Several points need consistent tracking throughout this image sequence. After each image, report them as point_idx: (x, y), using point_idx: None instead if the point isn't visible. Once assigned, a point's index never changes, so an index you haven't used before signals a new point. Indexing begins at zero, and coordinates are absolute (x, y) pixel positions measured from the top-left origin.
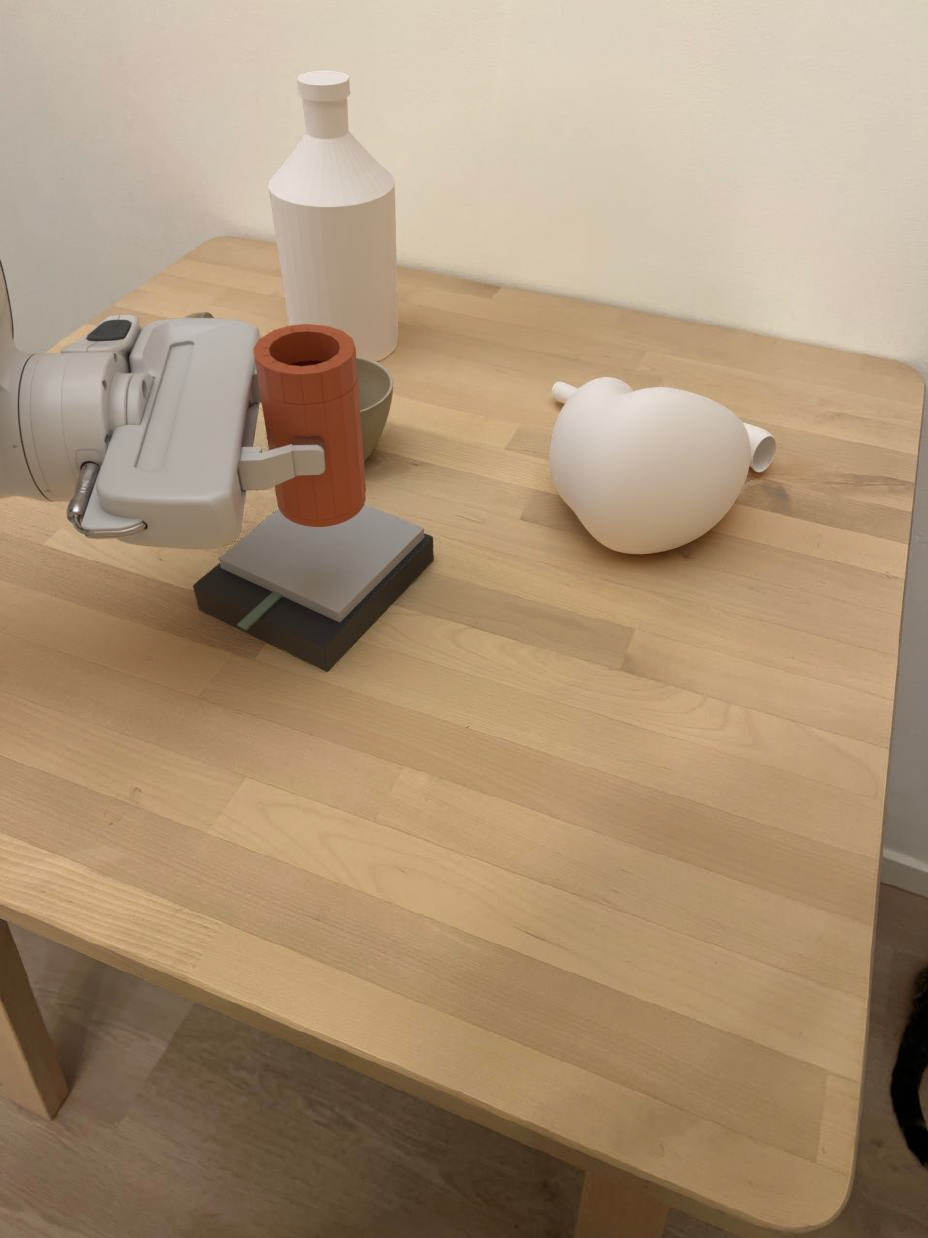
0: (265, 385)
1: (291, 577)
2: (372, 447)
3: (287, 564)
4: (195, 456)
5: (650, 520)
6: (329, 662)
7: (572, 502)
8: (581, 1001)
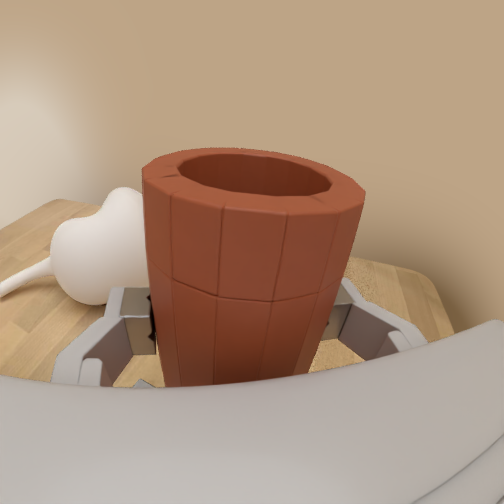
0: (345, 256)
1: None
2: None
3: None
4: (493, 376)
5: None
6: None
7: (134, 284)
8: (416, 316)
